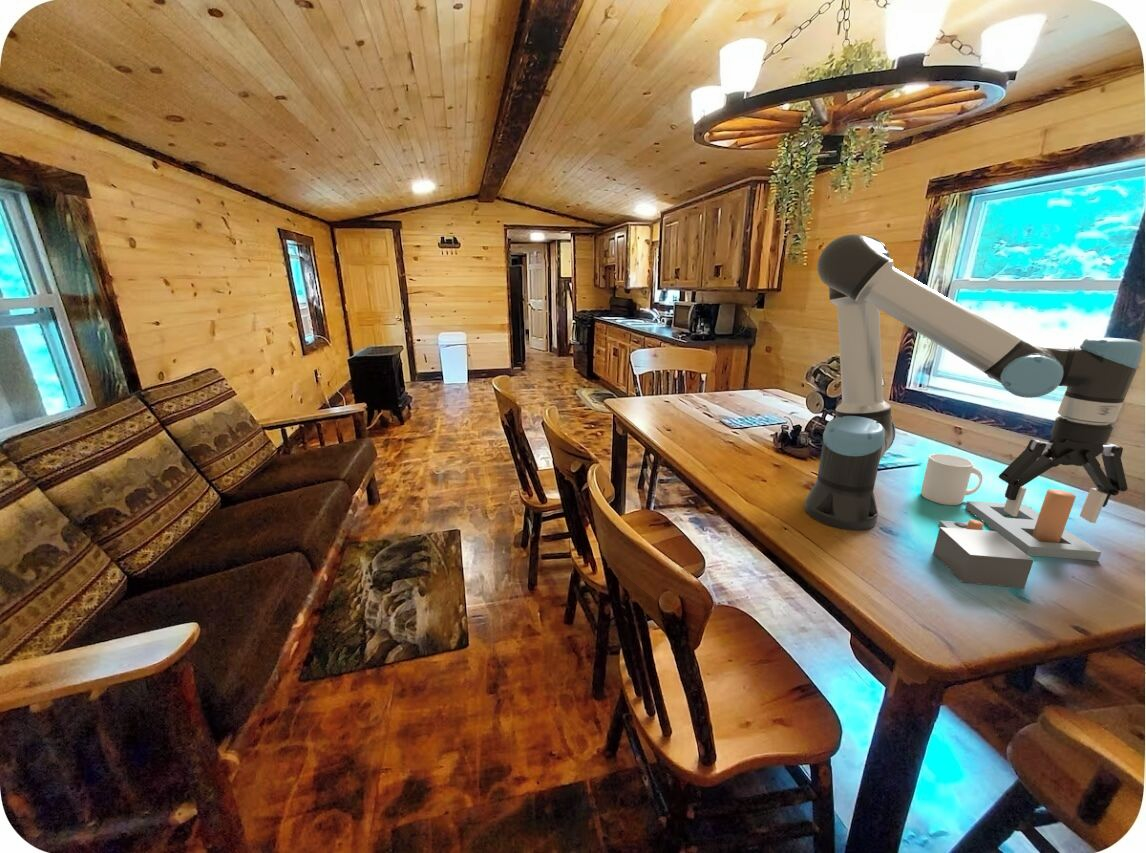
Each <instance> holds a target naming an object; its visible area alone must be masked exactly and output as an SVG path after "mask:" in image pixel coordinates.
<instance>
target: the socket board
mask: <svg viewBox="0 0 1146 853" xmlns="http://www.w3.org/2000/svg"><path fill="white" fill-rule="evenodd" d="M1005 504H1006V502H1005V503H1004V502H1003V503H1002V502H990V501H989V502H988V501H986V502H985V501H973V500H972V501H970V500H967V501H966V504H965V510H966V511H968V512H969V511H970V512H969V513H971V514H972V513H973V514H974V516H975V515H976V516H977V517H979V518H980V519H981V520H983V521H984V522H985V523H987V524H988V525H989V526H990V527H989V526H988V525H987V524H986V525H987V526H988V527H989V528H991V529H992V531H996V532H998V533H999V534H1000V535H1002V536H1003V537H1004V538H1005V539H1007V540H1008V541H1009V542H1011V543H1012V544H1013V545H1015V546H1016V547H1017V548H1019V549H1020V550H1021V551H1023V552H1024V553H1025V554H1026V555H1028V556H1034V557H1035V556H1038V557H1049V558H1050V557H1051V558H1059V559H1073V560H1075V559H1076V560H1085V561H1096V562H1097V561H1099V559H1100V558H1101V554H1102V551H1101V550H1099V549H1097V548H1096V547H1094V546H1092V545H1091V544H1090V543H1088V542H1086V541H1084V540H1083V539H1082V538H1079V537H1078V536H1076V535H1075V534H1074V533H1071V532H1069V530H1066V529H1065V528H1064V531H1063V534H1062V537H1061V539H1060V542H1059V543H1049V542H1039V541H1038V540H1037V539H1035V538H1034V537H1032V534H1033V531H1034V528H1035V525H1036V522H1037V519H1038V516H1039V513H1040V512H1037V511H1036V510H1035V509H1033V508H1031V507H1030V506H1027V505H1026V504H1022V503H1021V506H1020V509H1019V512H1018V514H1017V517H1016V516H1014V517H1015V518H1013V517H1005V516H1011V515H1010V514H1009V513H1007V512H1006V511H1004V507H1005ZM973 514H972V515H973ZM976 516H975V517H976ZM977 517H976V518H977ZM979 518H978V519H979ZM980 519H979V520H980ZM981 520H980V521H981ZM983 521H982V522H983ZM984 522H983V523H984ZM985 523H984V524H985Z"/></svg>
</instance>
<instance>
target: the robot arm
mask: <svg viewBox="0 0 1146 853" xmlns="http://www.w3.org/2000/svg"><path fill="white" fill-rule="evenodd" d="M894 263H895V262H894V260H893V259H891V257H890V252H889V251H888V248H887V247H886V246H885V244H884V243H883V242H881V240H879V239H877V238H875V237H870V236H864V235H862V234H861V235H860V234H846V235H842V236H839V237H836V238H835V239H833V240H832V241H831V242H829V243H828V244H827V245H826V246H825V247H824V249H822V251H821V253H820V254H819V257H818V260H817V263H816V264H817V266H816V268H817V269H816V270H817V274H818V278H819V279H820V281H821V282H822V283H823V284H824V285H826V286H827V287H828V292H829V293H828V294H829V302H831V303H832V305H834V306H836V311H837V324H838V325H837V327H838V345H839V347H838V349H839V364H840V365H839V367H840V382H841V383H840V385H841V402H840V404H839V405H837V406H836V408H835V417H834V418H833V419H831V420H829V421H828V422H827V424H826V425H825V429H824V431H823V433H822V445H821V451H820V459H819V464H818V470H817V471H818V473H817V477H816V481H815V483H814V484H813V486H812V488H811V490H810V491H809V493H808V495H806V496H807V497H806V499H805V501H804V510H805V512H806V513H807V515H809V516H810V517H811V518H812V519H813V520H816V521H818V522H820V523H821V524H823V525H827V526H830V527H834V528H837V529H843V530H848V531H849V530H851V531H863V530H868V529H871V528H873V527H875V526H876V525H877V522H878V521H877V520H878V516H879V512H878V511H879V510H878V507H877V501H876V497H875V492H874V489H875V485H876V480H877V475H878V469H879V465H880V461H881V459H882V458H883V457H884V455H885V454H886V452H887V451H888V450H889V449H890V448H891V447H892V445H893V444H894V440H895V438H896V427H895V424H894V422H893V420H892V406H891V404H889V403H888V402H886V401H885V400H884V391H883V387H884V386H883V385H884V384H883V361H882V358H883V357H882V337H881V336H882V333H881V312H880V310H881V311H882V312H884V313H885V314H887V315H889V316H890V317H892V318H894V319H895V320H897V321H899V322H901V324H903V325H904V326H907V327H908V328H910V329H911V330H913V331H915V332H916V333H918V334H920V335H922V336H923V337H925V338H926V339H928V340H930V341H931V342H933V343H935V344H936V345H938V346H940V347H941V348H943V349H944V350H947V351H948V352H950V353H952V354H953V355H955V356H956V357H958V358H960V359H961V360H962V361H964V362H966V363H968V364H970V365H971V366H972V367H974V368H976V369H978V370H980V371H981V372H982V373H984V374H985V375H987V377H988V379H993V380H995V381H996V382H998V383H1000V384H1001V385H1002V387H1003V388H1004V390H1006V391H1008V392H1009V393H1010V394H1011V395H1014V396H1016V397H1020V398H1027V399H1030V398H1039V397H1042V396H1043V397H1044V396H1047V395H1048V394H1050V393H1052V392H1054V391H1055V390H1056V389H1057V388H1058V387H1066V390H1065V391H1064V395H1063V398H1062V400H1061V402H1060V405H1059V408H1058V411H1057V413H1058V415H1059V416H1057V417H1055V419H1054V421H1053V422H1054V423H1053V425H1052V428H1051V431H1050V433H1051V434H1050V435H1051V438H1050V440H1049V441H1042V440H1038V439H1035V438H1032V439H1030V440H1029V442H1028V444H1027V446H1026V448H1025V449H1024V450H1023V451H1022V452H1021V453H1020V454H1019V455H1018V456H1017V457H1016V458H1015V459H1014V460H1013V461H1012V462H1011V463H1009V465H1008V466H1007V467H1006V468H1005V469H1004V470H1002V472H1001V473H1000V474H999V475H998V478H999V479H1000V480H1002V481H1003V482H1005V483H1007V488H1006V490H1005V493H1004V497H1005V498H1006V501H1005V503H1006V504H1005V507H1004V511H1006V512H1007V513H1009V514H1010V515H1009V516H1011V517H1015V516H1016V517H1017V514H1018V512H1019V509H1020V506H1021V504H1022V503H1023V500H1024V497H1025V494H1026V491H1027V488H1026V487H1025V485H1026V484H1028V483H1030V482H1031V481H1033V480H1034V479H1036V478H1038V477H1039V476H1040V475H1042V474H1044V473H1046V472H1047V471H1048V470H1051V469H1052V468H1057V467H1058V466H1060V465H1063V466H1076V467H1083V469H1084V470H1085V471H1086V473H1087V475H1088V476H1089V478H1090V479H1091V480H1092V482H1093V483H1094V485H1095V487H1096V488H1095V487H1090V488H1089V492H1088V495H1087V496H1086V499H1085V500H1084V501H1085V502H1084V503H1083V506H1082V509H1081V511H1080V514H1079V517H1081V518H1082V519H1084V520H1086V521H1087V522H1089V523H1093V524H1096V523H1097V520H1098V518H1099V516H1100V513H1101V511H1102V509H1103V508H1106V506H1107V505H1108V502H1109V500H1110V497H1111V496H1113V497H1114V496H1117V495H1119V493H1120V492H1126V491H1127V490H1128V489H1129V488H1128V484H1127V479H1126V474H1125V470H1124V466H1123V461H1122V454H1123V451H1124V448H1123V447H1122V446H1120V445H1117V444H1113V443H1111V442H1109V440H1110V436H1111V434H1112V432H1113V430H1114V425H1113V424H1112V423H1115V422H1116V421H1117V418H1118V417H1119V414H1120V411H1121V409H1122V407H1123V404H1124V401H1125V399H1126V396H1127V394H1128V392H1129V390H1130V387H1131V385H1132V382H1133V380H1134V379H1135V378H1134V377H1135V375H1136V373H1137V371H1138V370H1139V368H1140V367H1139V364H1140V361H1141V358H1142V355H1143V351H1144V348H1145V346H1144V345H1143V343H1142V341H1138V340H1136V339H1128V338H1119V337H1116V338H1115V337H1098V336H1097V337H1095V336H1094V337H1088V338H1085V339H1084V340H1083V342H1082V344H1081V345H1080V346H1077V347H1076V346H1074V347H1073V346H1069V347H1066V346H1053V345H1052V346H1051V345H1041V344H1040V345H1039V344H1030V343H1028V342H1026V341H1025V340H1023V339H1021V338H1019V337H1017V336H1016V335H1013V334H1012V333H1010V332H1008V331H1006V330H1005V329H1003V328H1001V327H999V326H998V325H996V324H995V323H993V322H991V321H989V320H987V319H986V318H984V317H982V316H980V315H978V313H977V314H976V313H975V312H973V311H971V310H970V309H968V308H966V307H964V306H962V305H960V304H959V303H957V302H956V301H954V300H952V299H950V298H949V297H946V296H944V295H943V294H942V293H939V292H938V291H936V290H934V289H932V288H931V287H929V286H927V285H926V284H923V283H922V282H920V281H918V280H917V279H915V278H913V277H911V276H909V275H907V274H906V273H904V272H902V271H900V270H899V269H897V268H895V264H894ZM1099 455H1101V459H1102V462H1103V466H1104V471H1105V472H1104V471H1103V469H1102V467H1101V463H1099V461H1098V459H1097V457H1098V456H1099ZM1016 517H1015V518H1016Z"/></svg>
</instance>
